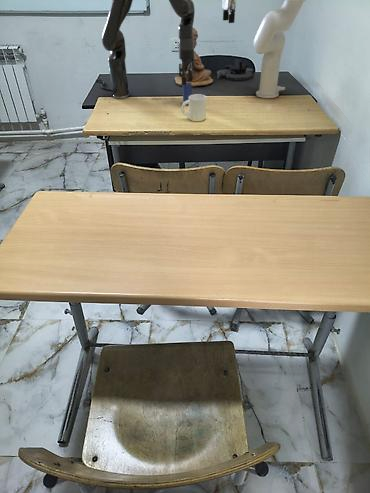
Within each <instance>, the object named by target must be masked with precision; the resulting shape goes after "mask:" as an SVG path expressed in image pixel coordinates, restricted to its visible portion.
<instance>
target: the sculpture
mask: <svg viewBox="0 0 370 493" xmlns="http://www.w3.org/2000/svg"><path fill="white" fill-rule="evenodd" d="M198 38H199V34H198V30H197V29H196V28H195V27H193V41H194V49H195V48H196V47H197V44H198V43H197V39H198ZM188 73H189V72H188ZM188 73H187V74H186V83H191V84H192V87H201V86H208V85H210V84H212V83H213V82H214V79H213V78H212V77H211V75H212V71H211V70H210V69H205V65H204V64H203V63H202V59H201V57H200V56H199V54H198V53H197V52H196V51H195V50H194V71H193V73H192V74H193V80H192V81H189V80H188ZM174 81H175V84H177V85H178V86H181V87H183V85H182V77H179V76H175V77H174Z"/></svg>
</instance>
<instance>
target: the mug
mask: <svg viewBox="0 0 370 493" xmlns="http://www.w3.org/2000/svg"><path fill="white" fill-rule="evenodd" d="M186 104H189V105H188V112H186V111H185V106H187V105H186ZM180 109H181V113H182V115H184V116H186V117H188V118H189V120H190V121H193V122H201V121H204V120H205V119H207V118H206V117H207V96H206V95H205V94H202V93H195V94H192V95H190V96H189V100H187V101H185V102H184V103H183V102H182V104H181V107H180Z"/></svg>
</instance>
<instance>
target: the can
mask: <svg viewBox="0 0 370 493" xmlns="http://www.w3.org/2000/svg"><path fill="white" fill-rule="evenodd" d="M192 88H193V86H192V84H191V83H186V85H183V86H182V104H183V103H184V102H185V101H187V100H189V96H190V95H193V92H192V91H193V89H192ZM185 106H189V104H186V105H185Z"/></svg>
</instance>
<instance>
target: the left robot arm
mask: <svg viewBox="0 0 370 493" xmlns="http://www.w3.org/2000/svg"><path fill="white" fill-rule="evenodd" d="M133 2H134V0H111V4H110V8H109V13H108V17H107V21H106V24H105V26H104V29H103V32H102V36H101V43H102V46H103V48H104V50H106V51H108V52H110V55H109V56H108V58H107V64H108V70H109V75H110V83H111V88H106V87H105V84H106V83H105V81H104V80H102V79H101V78H96V80H95V82H101V85H100V87H101V89H103V90H105V91H111V92H112V97H113V98H114V99H125V98H128V97H130V90H129V89H130V87H129V82H128V81H129V79H128V74H127V66H126V65H127V64H126V58H127V50H126V49H127V48H126V41H125V39H126V38H125V36H124V33H123V32H122V31H121V28H122V27H121V26H122V24H123V23H124V21H125V19H126V18H127V16H128V15H129V13H130V11H131V8H132V6H133ZM168 2H169V4H170V6H171V8H172V10H173V11H174V13H175V14H176V15H177V16H178V17H179V18H180V22H179V25H178V58H179V60H181V63H178V77H182V85H186V74H187V73H188V72H189V73H188V80H189V81H192V80H193V74H192V73H193V71H194V51H195V48H194V41H193V28H194V20H195V12H196V10H195V9H196V8H195V3H194V2H193V0H168Z"/></svg>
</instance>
